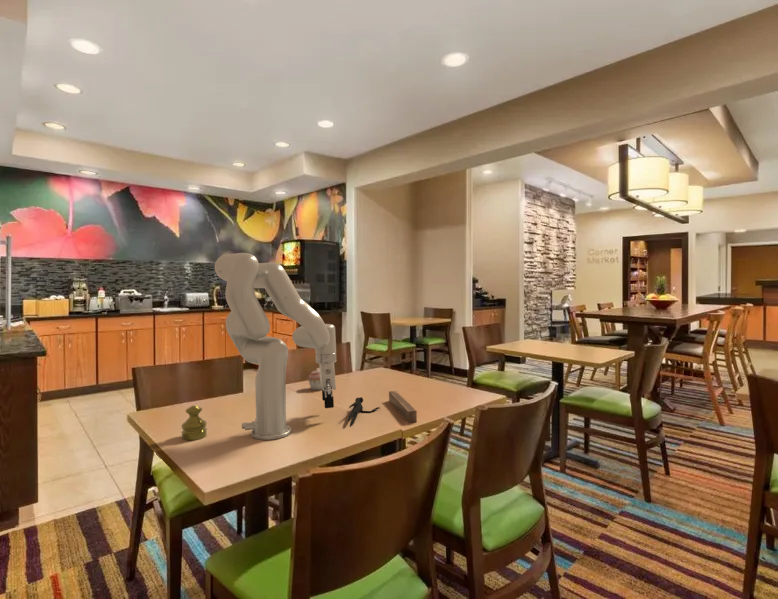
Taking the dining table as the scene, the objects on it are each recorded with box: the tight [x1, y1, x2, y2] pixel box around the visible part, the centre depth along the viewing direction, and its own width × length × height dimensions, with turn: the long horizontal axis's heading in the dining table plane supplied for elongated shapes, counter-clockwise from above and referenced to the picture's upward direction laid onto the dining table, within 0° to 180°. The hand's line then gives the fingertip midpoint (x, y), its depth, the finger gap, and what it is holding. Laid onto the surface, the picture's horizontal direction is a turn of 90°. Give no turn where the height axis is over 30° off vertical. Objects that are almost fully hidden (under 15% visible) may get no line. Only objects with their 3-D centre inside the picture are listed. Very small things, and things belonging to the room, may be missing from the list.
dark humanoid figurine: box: [347, 397, 382, 428], centre depth 163 cm, size 8×9×25 cm
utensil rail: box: [388, 390, 418, 424], centre depth 170 cm, size 3×30×4 cm, turn 13°
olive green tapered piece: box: [181, 404, 208, 441], centre depth 142 cm, size 7×7×10 cm
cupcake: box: [307, 367, 322, 391], centre depth 206 cm, size 9×9×10 cm
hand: (327, 403), depth 163 cm, fingers open, 9 cm apart
